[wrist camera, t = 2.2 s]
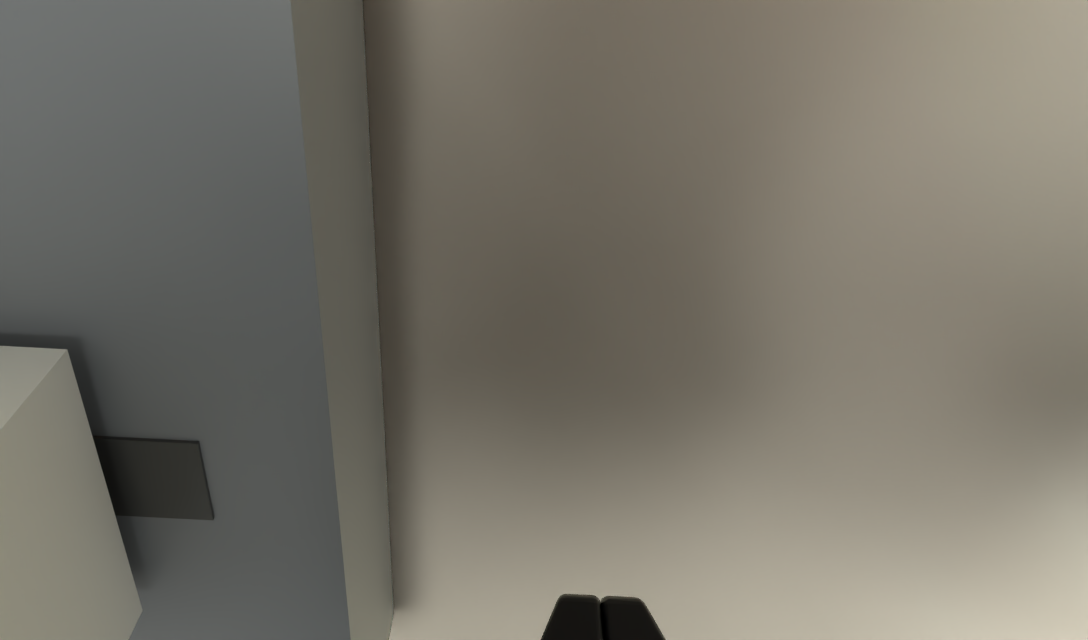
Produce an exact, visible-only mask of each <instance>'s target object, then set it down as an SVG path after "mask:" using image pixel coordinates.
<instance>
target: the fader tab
mask: <svg viewBox="0 0 1088 640" xmlns="http://www.w3.org/2000/svg"><path fill="white" fill-rule="evenodd" d="M142 611H143V610H142V606H141V603H140V599H139V596H138V593H137V589H136V586H135V582H134V579H133V575H132V572H131V568H130V565H129V561H128V558H127V554H126V551H125V547H124V544H123V541H122V537H121V534H120V530H119V527H118V523H117V520H116V516H115V513H114V509H113V506H112V502H111V499H110V496H109V492H108V489H107V485H106V482H105V478H104V475H103V471H102V468H101V464H100V461H99V457H98V454H97V450H96V447H95V444H94V440H93V437H92V433H91V430H90V426H89V423H88V419H87V416H86V412H85V409H84V405H83V402H82V398H81V395H80V392H79V388H78V385H77V381H76V378H75V374H74V371H73V367H72V364H71V360H70V357H69V353H68V350H67V349H52V348H34V347H16V346H0V640H129V638H130V636H131V634H132V631H133V629H134V627H135V625H136V623H137V621H138V619H139V617H140V615H141V613H142Z"/></svg>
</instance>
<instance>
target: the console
mask: <svg viewBox="0 0 1088 640" xmlns="http://www.w3.org/2000/svg"><path fill="white" fill-rule="evenodd" d="M0 346H16V347H34V348H52V349H67V350H68V353H69V357H70V360H71V364H72V367H73V371H74V374H75V378H76V381H77V385H78V388H79V392H80V395H81V398H82V402H83V405H84V409H85V412H86V416H87V419H88V423H89V426H90V430H91V433H92V437H93V440H94V444H95V447H96V450H97V454H98V457H99V461H100V464H101V468H102V471H103V475H104V478H105V482H106V485H107V489H108V492H109V496H110V499H111V502H112V506H113V509H114V513H115V516H116V520H117V523H118V527H119V530H120V534H121V537H122V541H123V544H124V547H125V551H126V554H127V558H128V561H129V565H130V568H131V572H132V575H133V579H134V582H135V586H136V589H137V593H138V596H139V599H140V603H141V606H142V610H143V611H142V613H141V615H140V617H139V619H138V621H137V623H136V625H135V627H134V629H133V631H132V634H131V636H130V638H129V640H389V636H390V630H391V625H392V620H393V615H394V606H393V586H392V567H391V547H390V527H389V508H388V488H387V469H386V449H385V429H384V410H383V390H382V371H381V351H380V331H379V312H378V292H377V273H376V253H375V233H374V214H373V194H372V174H371V155H370V135H369V116H368V96H367V76H366V57H365V37H364V18H363V0H0Z"/></svg>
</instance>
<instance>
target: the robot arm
mask: <svg viewBox="0 0 1088 640" xmlns="http://www.w3.org/2000/svg"><path fill="white" fill-rule="evenodd" d="M541 640H666V639H665V638H664V636H663V634H662V632H661V631H660V629H659V627H658V625H657V624H656V622H655V620H654V618H653V617H652V615H651V613H650V611H649V610H648V608H647V606H646V605H645V603H644V602H643V601H642V600H640V599H639V598H636V597H619V596H606V597H604V598H602V600H601V602H600V600H599V598H597V597H596V596H594V595H579V594H563V595H561V596H560V597H559V598H558V600H557V602H556V604H555V607H554V609H553V612H552V614H551V616H550V619H549V621H548V624H547V626H546V628H545V631H544V633H543V636H542V638H541Z"/></svg>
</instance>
